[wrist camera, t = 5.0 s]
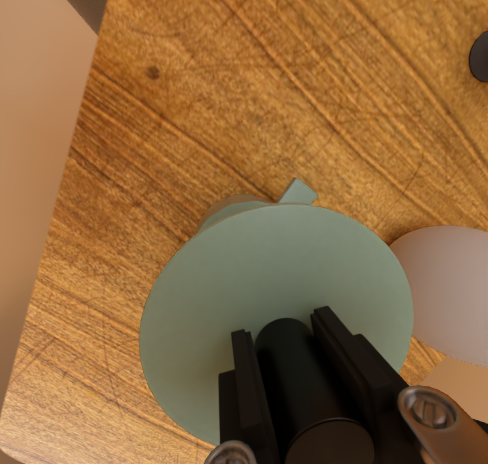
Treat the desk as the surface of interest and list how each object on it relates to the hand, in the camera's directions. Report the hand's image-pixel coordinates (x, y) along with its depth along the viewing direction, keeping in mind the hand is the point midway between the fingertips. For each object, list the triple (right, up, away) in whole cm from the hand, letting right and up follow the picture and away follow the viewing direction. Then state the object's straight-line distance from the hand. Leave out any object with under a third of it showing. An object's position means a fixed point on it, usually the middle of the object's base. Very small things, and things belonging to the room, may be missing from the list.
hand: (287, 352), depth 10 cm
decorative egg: (+18, 0, +22) cm, 29 cm away
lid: (0, 0, +1) cm, 1 cm away
